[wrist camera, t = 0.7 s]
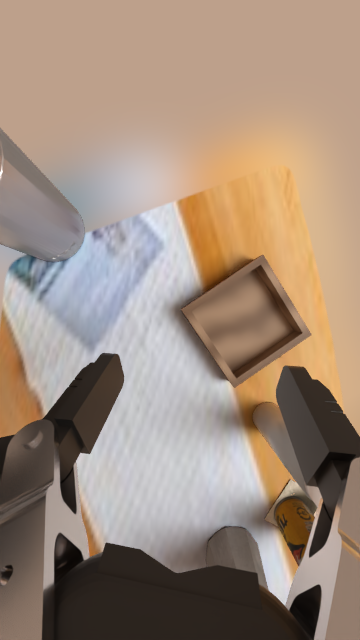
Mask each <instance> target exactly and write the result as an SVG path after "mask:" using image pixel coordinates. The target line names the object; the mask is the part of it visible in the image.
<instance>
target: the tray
mask: <svg viewBox="0 0 360 640" xmlns="http://www.w3.org/2000/svg"><path fill="white" fill-rule="evenodd" d="M181 311H182V312H183V314H184V315H185V317H186V318H187V320H188V321H189V323H190V324H191V326H192V327H193V329H194V330H195V332H196V333H197V335H198V336H199V338H200V339H201V341H202V342H203V343H204V345H205V346H206V348H207V349H208V351H209V352H210V354H211V355H212V357H213V358H214V360H215V361H216V363H217V364H218V366H219V367H220V369H221V370H222V372H223V373H224V375H225V376H226V378H227V379H228V381H229V382H230V383H231V384H232V386H233V387H234V388H235V387H236V386H238V385H239V384H241V383H242V382H244V381H245V380H247V379H248V378H249V377H251V376H252V375H254V374H255V373H257V372H258V371H260V370H261V369H263V368H264V367H265V366H267V365H268V364H270V363H271V362H273V361H274V360H276V359H277V358H279V357H280V356H281V355H283V354H284V353H286V352H287V351H289V350H290V349H292V348H293V347H295V346H296V345H297V344H299V343H300V342H302V341H303V340H305V339H306V338H308V337H309V336H311V333H310V331H309V330H308V328H307V326H306V325H305V323H304V321H303V320H302V318H301V316H300V315H299V313H298V311H297V310H296V308H295V307H294V305H293V303H292V302H291V300H290V298H289V297H288V295H287V293H286V292H285V290H284V288H283V287H282V285H281V283H280V282H279V280H278V278H277V277H276V275H275V273H274V272H273V270H272V268H271V267H270V265H269V264H268V262H267V260H266V259H265V257H264V255H261V256H259V257H258V258H256V259H254V260H253V261H251V262H250V263H248V264H247V265H245V266H244V267H242V268H241V269H239V270H238V271H236V272H235V273H233V274H232V275H230V276H229V277H227V278H226V279H224V280H223V281H222V282H220V283H219V284H217V285H216V286H214V287H213V288H211V289H210V290H208V291H207V292H205V293H204V294H202V295H201V296H199V297H198V298H196V299H195V300H193V301H192V302H191V303H189V304H188V305H186V306H185V307H183V308H182V309H181Z"/></svg>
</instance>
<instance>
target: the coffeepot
mask: <svg viewBox="0 0 360 640" xmlns="http://www.w3.org/2000/svg"><path fill="white" fill-rule="evenodd" d="M206 562H207V566H208V567H210V566H215V565H220V566H225V567H230V568H235V569H240V570H245V571H250V572H255V573H258V581H259V584H260V585H261V586H263V587H265V588H266V589H267V590H268V586H267V582H266V578H265V574H264V570H263V566H262V561H261V557H260V553H259V549H258V545H257V542H256V541H255V540H254V538H253V537H252V536H251V534H250V533H249V532H248V531H247V530H246V529H244V528H241V527H235V526H233V527H226V528H223V529H221V530H219V531H218V532H216V533H215V534H214V535H213V536H212V538H211V539H210V540H209V542H208V546H207V555H206Z"/></svg>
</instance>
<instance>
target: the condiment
mask: <svg viewBox="0 0 360 640" xmlns="http://www.w3.org/2000/svg"><path fill="white" fill-rule="evenodd" d="M294 493H295V494H294ZM291 494H292V495H291ZM317 508H318V507H317V506H316V505H315V503H314V502H313V501H312V500H310V499H309V498H308V497H307V496H306V494H305V493H304V492H303V490H302V489H301V487H300V486H299V485H298V483H296V482H294V481H292V480H290V481H289V483H288V485H287V486H286V487H285V489H284V491H283V492H282V494H281V495H280V496H279V498H278V499H277V500H276V502H275V503H274V505H273V506H272V508H271V509H270V511H269V513H268V514H267V516H266V517H265V521H267V522H269V523H271V524H273V525H275V526H277V527H279V528H280V531H281V533H282V534H283V537H284V539H285V541H286V542H287V545H288V547H289V549H290V550H291V552H292V554H293V556H294V558H295V560H296V562H297V564H298V566H300V564H301V562H302V559H303V557H304V554H305V551H306V547H307V544H308V540H309V537H310V533H311V530H312V526H313V523H314V519H315V517H314V513H315V511H316V510H317Z"/></svg>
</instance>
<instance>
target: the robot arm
mask: <svg viewBox="0 0 360 640" xmlns="http://www.w3.org/2000/svg"><path fill="white" fill-rule="evenodd" d="M84 235H85V227H84V224H83V220H82V217H81V215H80V214H79V212H78V211H77V209H76V208H75V207H74V206H73V205H72V204H71V203H70V202H69V201H68V200H67V199H66V197H65V196H63V194H62V193H61V192H60V191H59V190H58V189H57V188H56V187H55V186H54V185H53V183H52V182H50V180H49V179H48V178H47V177H46V176H45V175H44V174H43V173H42V172H41V171H40V170H39V169H38V167H37V166H36V165H35V164H34V163H33V162H32V161H31V160H30V159H29V158H28V157H27V156H26V155H25V154H24V153H23V151H22V150H21V149H20V148H19V147H18V146H17V145H16V144H15V143H14V142H13V141H12V140H11V139H10V138H9V136H8V135H7V134H6V133H5V132H3V130H2V129H1V128H0V244H1V245H4V246H7V247H9V248H12V249H15V250H17V251H20V252H23V253H25V254H28V255H31V256H34V257H36V258H39V259H42V260H45V261H50V262H59V261H63V260H66V259H68V258H70V257H72V256H73V255H74V254H75V253H77V251H78V250H79V249H80V247H81V245H82V243H83V240H84ZM123 383H124V374H123V370H122V366H121V362H120V358H119V355H118V354H110V353H102V354H101V355H100V356H99V357H98V359H97V360H96V361H95V363H90V364H89V365H87V366H86V367H85V368H83V369H82V370H81V371H80V372H79V374H78V375H77V376H76V378H75V380H73V381H72V383H71V384H70V385H69V387H68V388H67V389H66V390H65V392H64V393H63V394H62V395H61V397H60V398H59V399H58V400H57V402H56V403H55V404H54V406H53V407H52V408H51V409H50V411H49V412H48V413H47V415H46V416H45V417H44V418H43V419H42V420H37V421H34V422H32V423H30V424H28V425H26V426H25V427H23V428H22V429H21V430H20V431H18V432H17V433H16V434H15V435H11V436H6V437H1V438H0V640H360V437H359V435H358V434H357V432H356V431H355V429H354V427H353V426H352V424H351V423H350V421H349V420H348V418H347V417H346V415H345V414H343V410H342V409H341V407H340V406H339V404H337V401H336V400H335V398H334V397H333V395H332V394H331V392H330V390H329V389H328V388H326V387H325V386H324V385H323V384H322V383H321V382H320V381H318V380H313V379H312V378H311V377H310V375H309V373H308V372H307V370H306V369H305V368H304V367H298V366H284V367H283V370H282V373H281V376H280V379H279V382H278V385H277V388H276V398H277V403H278V405H279V408H280V411H281V414H282V417H283V420H284V423H285V426H286V429H287V432H288V434H289V437H290V440H291V443H292V446H293V449H294V452H295V455H296V458H297V461H298V463H299V466H300V469H301V472H302V475H303V478H304V481H305V484H306V486H314V487H318V488H319V491H320V493H321V496H322V498H321V499H320V502H319V505H318V509H317V512H316V516H315V519H314V523H313V526H312V530H311V533H310V537H309V540H308V544H307V547H306V551H305V554H304V557H303V559H302V562H301V564H300V566H299V567H298V569H297V572H296V574H295V577H294V579H293V582H292V585H291V588H290V592H289V595H288V599H287V602H286V605H285V606H284V605H283V604H282V602H281V601H280V600H279V599H278V598H277V597H276V596H274V595H273V594H272V593H271V592H270V591H268V590H267V589H266V588H265V587H263V586H261V585H260V584H259V581H258V573H255V572H250V571H245V570H240V569H235V568H230V567H225V566H220V565H215V566H210V567H206V568H201V569H197V570H192V571H188V572H183V573H175V572H173V571H171V570H170V569H168V568H167V567H165V566H164V565H162V564H161V563H159V562H158V561H156V560H155V559H153V558H152V557H151V556H149V555H148V554H146V553H145V552H143V551H142V550H140V549H135V548H130V547H125V546H120V545H115V544H110V543H106V544H105V547H104V550H103V552H102V553H99V554H96V555H94V556H91V557H89V548H88V540H87V534H86V530H85V526H84V523H83V520H82V515H81V506H80V495H79V484H78V473H77V463H76V460H77V458H78V456H79V454H80V453H86V454H90V453H91V451H92V449H93V447H94V444H95V442H96V440H97V438H98V436H99V434H100V432H101V430H102V428H103V426H104V424H105V422H106V420H107V418H108V416H109V414H110V411H111V409H112V407H113V405H114V403H115V401H116V399H117V397H118V395H119V393H120V391H121V389H122V386H123Z"/></svg>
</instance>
